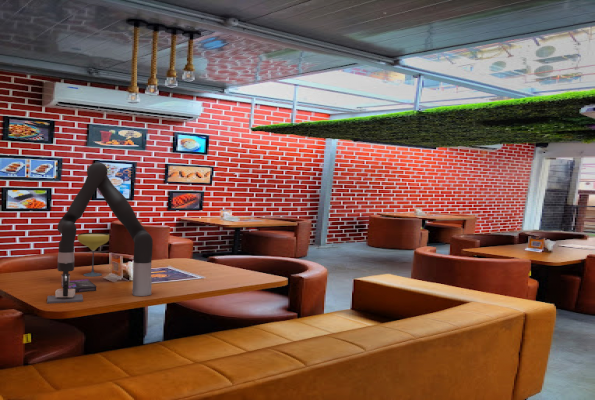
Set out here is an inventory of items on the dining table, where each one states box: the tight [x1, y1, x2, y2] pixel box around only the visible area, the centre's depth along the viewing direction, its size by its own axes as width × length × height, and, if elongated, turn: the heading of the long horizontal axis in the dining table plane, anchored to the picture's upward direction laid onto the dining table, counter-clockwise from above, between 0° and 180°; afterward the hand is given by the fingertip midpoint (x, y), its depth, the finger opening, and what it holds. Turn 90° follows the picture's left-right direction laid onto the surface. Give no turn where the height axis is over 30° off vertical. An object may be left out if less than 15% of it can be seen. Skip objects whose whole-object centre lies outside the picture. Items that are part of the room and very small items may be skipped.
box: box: [61, 278, 97, 294], centre depth 289 cm, size 14×4×20 cm
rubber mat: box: [46, 293, 84, 304], centre depth 264 cm, size 16×12×1 cm
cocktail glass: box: [77, 232, 110, 278], centre depth 326 cm, size 18×18×25 cm
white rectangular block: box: [54, 288, 76, 297], centre depth 263 cm, size 8×5×3 cm, turn 101°
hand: (65, 294), depth 263 cm, fingers closed on white rectangular block, 5 cm apart
